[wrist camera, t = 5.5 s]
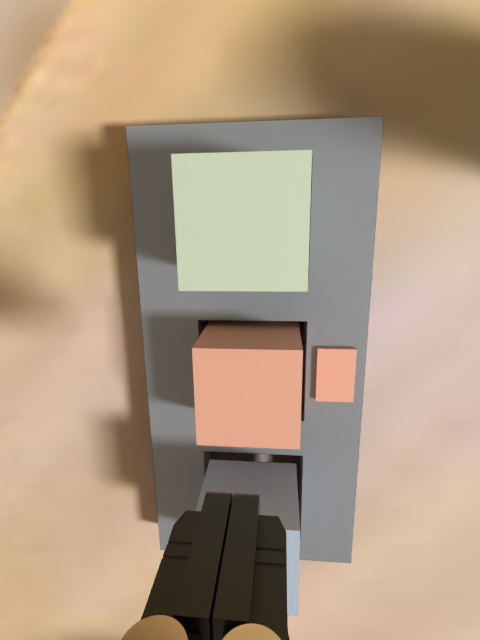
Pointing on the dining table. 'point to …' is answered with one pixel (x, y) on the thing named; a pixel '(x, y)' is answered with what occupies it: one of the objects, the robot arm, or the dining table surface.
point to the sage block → (242, 220)
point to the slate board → (264, 314)
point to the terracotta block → (248, 384)
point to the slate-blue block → (264, 503)
